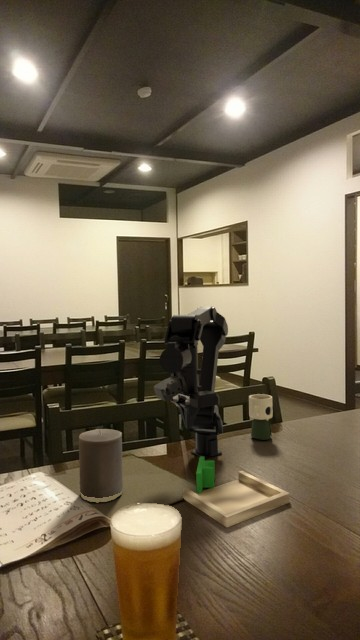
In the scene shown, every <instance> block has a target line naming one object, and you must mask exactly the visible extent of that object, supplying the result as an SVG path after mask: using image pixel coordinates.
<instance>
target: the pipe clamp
mask: <svg viewBox="0 0 360 640" xmlns="http://www.w3.org/2000/svg"><path fill="white" fill-rule="evenodd" d="M205 459H206V458H204V456H199V458H198V463H197V468H196V472H195V475H196V493H202V491H203V488H208V489H210V488H214V487H215V481H216V472H215V471H216V470H215V468H216V467H215V460H207V459H206V460H205Z"/></svg>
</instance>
